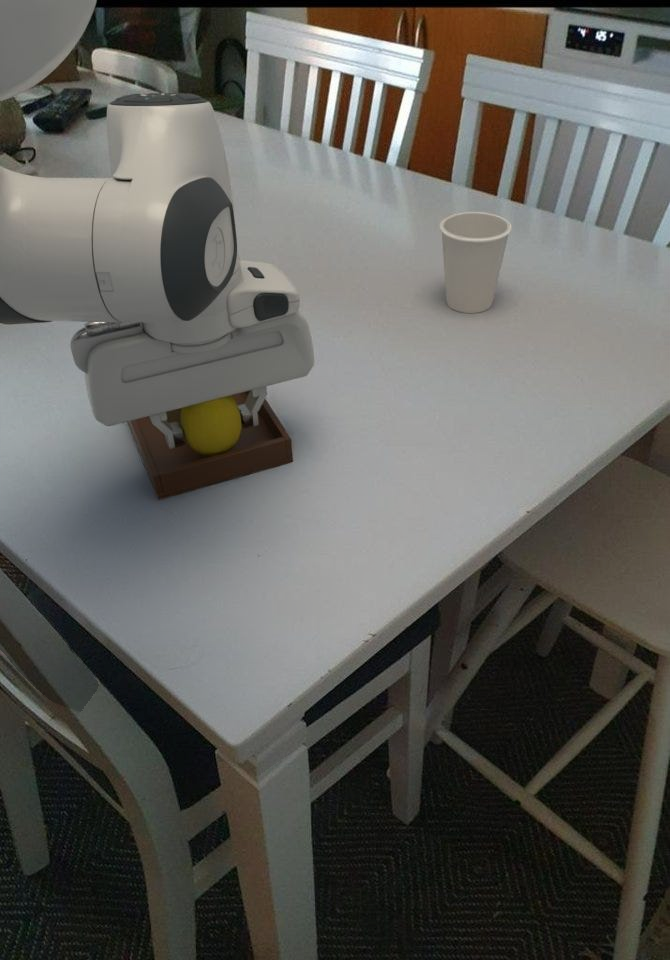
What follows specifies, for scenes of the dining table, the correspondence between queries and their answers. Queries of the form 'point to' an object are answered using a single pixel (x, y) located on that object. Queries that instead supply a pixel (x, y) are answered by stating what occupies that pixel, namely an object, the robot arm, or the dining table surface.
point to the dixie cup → (473, 258)
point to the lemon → (212, 425)
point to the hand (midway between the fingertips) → (212, 433)
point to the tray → (196, 470)
